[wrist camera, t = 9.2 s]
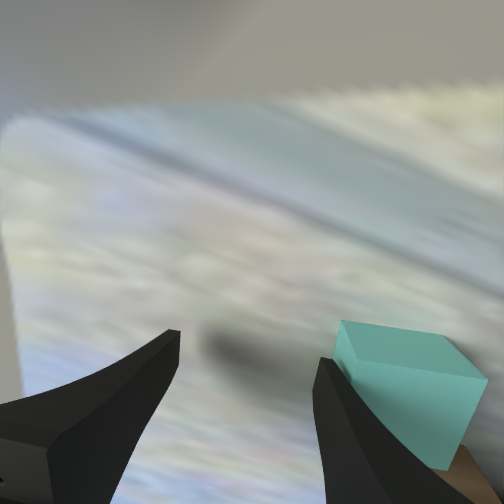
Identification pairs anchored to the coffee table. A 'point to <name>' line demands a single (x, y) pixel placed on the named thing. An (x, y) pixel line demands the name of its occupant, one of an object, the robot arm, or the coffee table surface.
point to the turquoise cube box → (412, 386)
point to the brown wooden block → (468, 478)
